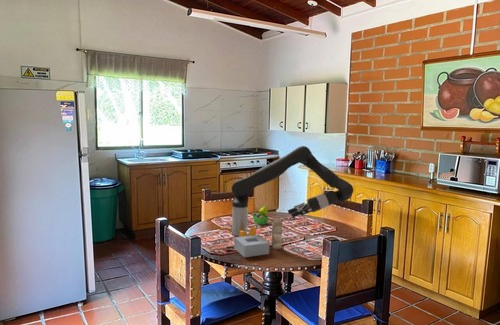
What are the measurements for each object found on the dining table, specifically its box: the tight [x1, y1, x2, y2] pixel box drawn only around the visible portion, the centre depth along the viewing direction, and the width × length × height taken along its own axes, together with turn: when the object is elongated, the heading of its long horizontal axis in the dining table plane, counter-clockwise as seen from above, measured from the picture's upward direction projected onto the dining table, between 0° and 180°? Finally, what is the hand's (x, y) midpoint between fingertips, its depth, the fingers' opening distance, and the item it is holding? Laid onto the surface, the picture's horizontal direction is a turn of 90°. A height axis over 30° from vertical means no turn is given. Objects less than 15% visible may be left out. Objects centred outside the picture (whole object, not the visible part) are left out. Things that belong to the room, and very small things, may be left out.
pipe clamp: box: [238, 226, 257, 237], centre depth 206 cm, size 12×4×6 cm, turn 142°
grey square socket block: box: [233, 234, 270, 258], centre depth 188 cm, size 14×14×6 cm
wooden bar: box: [271, 217, 283, 250], centre depth 194 cm, size 3×4×16 cm
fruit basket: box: [252, 205, 269, 226], centre depth 242 cm, size 11×9×11 cm
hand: (290, 213), depth 189 cm, fingers open, 8 cm apart
